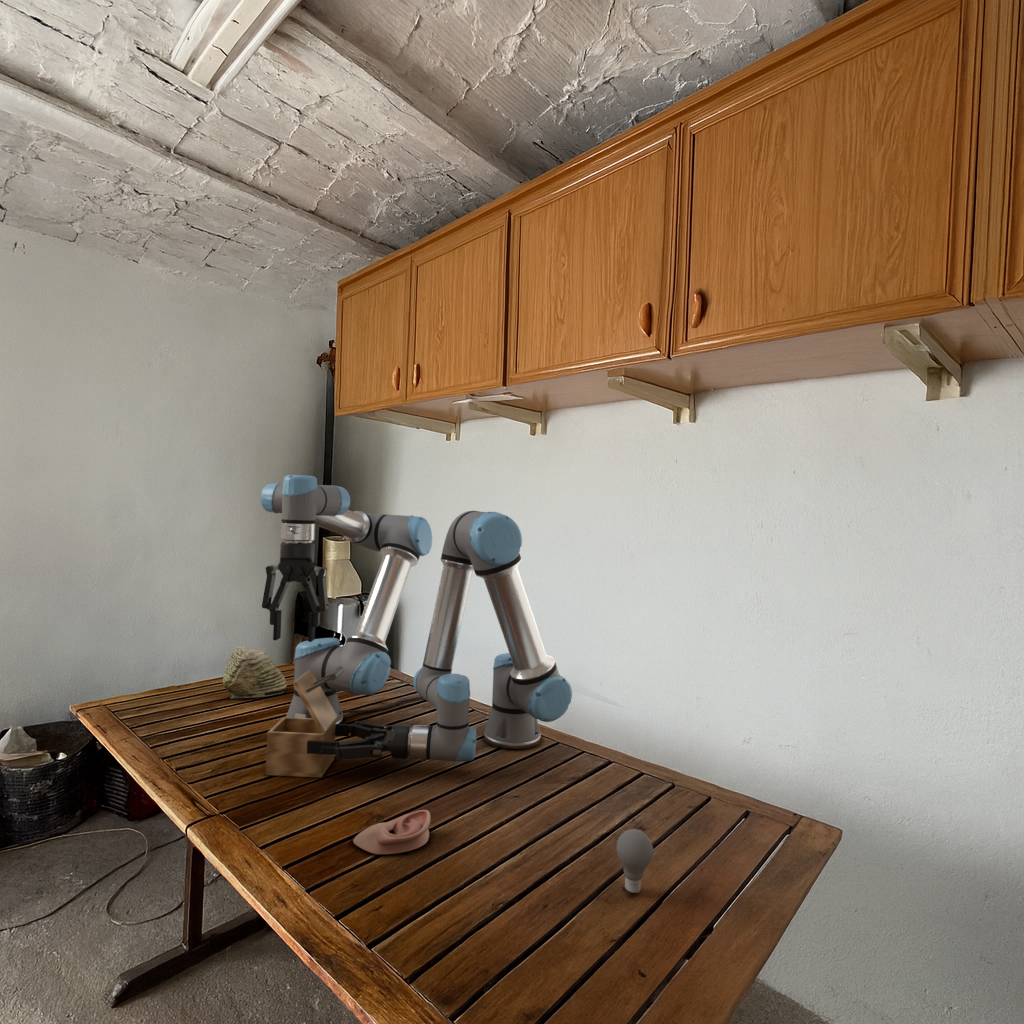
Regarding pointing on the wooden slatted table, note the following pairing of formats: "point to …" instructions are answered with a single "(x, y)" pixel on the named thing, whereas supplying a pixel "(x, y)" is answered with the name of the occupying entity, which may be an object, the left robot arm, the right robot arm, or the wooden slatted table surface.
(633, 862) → the light bulb
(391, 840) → the anatomical model
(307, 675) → the lid
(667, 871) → the wooden slatted table surface
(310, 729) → the chest
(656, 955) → the wooden slatted table surface
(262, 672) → the fossil
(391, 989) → the wooden slatted table surface
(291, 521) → the left robot arm
